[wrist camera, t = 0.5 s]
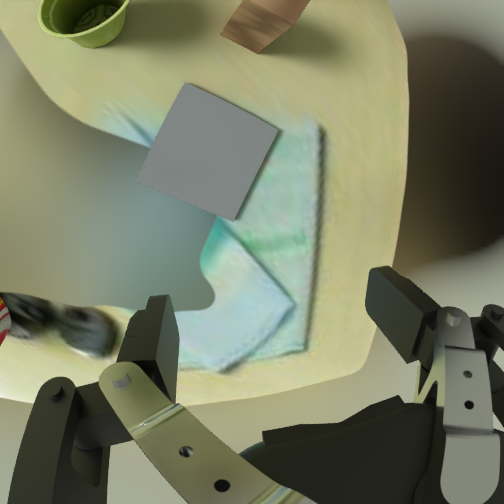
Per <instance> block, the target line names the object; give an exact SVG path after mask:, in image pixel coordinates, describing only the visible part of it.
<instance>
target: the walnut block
mask: <svg viewBox="0 0 504 504" xmlns="http://www.w3.org/2000/svg"><path fill="white" fill-rule="evenodd" d="M309 1H310V0H243V1H242V2H241V4H240V5H239V7H238V8H237V10H236V11H235V12H234V14H233V15H232V17H231V18H230V20H229V21H228V23H227V25H226V26H225V28H224V29H223V31H222V32H221V34H220V35H221V36H223V37H226V38H228V39H230V40H232V41H234V42H236V43H238V44H240V45H241V46H243V47H245V48H247V49H249V50H251V51H253V52H255V53H256V54H258V53H259V52H260V51H261V50H262V49H264V48H265V47H266V46H267V45H269V44H270V43H271V42H272V41H274V40H275V39H276V38H278V37H279V36H280V35H282V34H283V33H284V32H286V31H287V30H288V29H290V28H291V27H292V26H294V24H295V23H296V21H297V20H298V18H299V17H300V15H301V13H302V12H303V10H304V9H305V7H306V6H307V4H308V3H309Z"/></svg>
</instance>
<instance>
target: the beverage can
mask: <svg viewBox="0 0 504 504" xmlns="http://www.w3.org/2000/svg"><path fill="white" fill-rule="evenodd" d="M10 327H11V318H10V313H9V311H8V309H7V306H6V304H5V303H4V301H3V300H2V298H1V297H0V346H1V344H2V342H3V340H4V339H5V337H6V335H7V333H8V332H9V330H10Z"/></svg>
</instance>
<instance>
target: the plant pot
mask: <svg viewBox="0 0 504 504" xmlns="http://www.w3.org/2000/svg"><path fill="white" fill-rule="evenodd" d="M130 1H131V0H42V1H41V3H40V6H39V11H38V18H39V23H40V25H41V27H42V28H43V30H44V31H45V32H47V33H48V34H50V35H52V36H54V37H59V38H69V39H71V40H73V41H74V42H76V43H78V44H79V45H81V46H83V47H86V48H94V47H99V46H103V45H106V44H108V43H109V42H111V41H112V40H114V39H115V38H116V37H117V36H118V35H119V33H120V32H121V30H122V29H123V26H124V22H125V14H126V7H127V5H128V4H129V2H130ZM110 9H113V10H115V11H116V13H115V14H114V13H113V12H111V11H109V10H110ZM89 14H91V16H89V17H88V18H87V19H86V20H84V18H85V17H86V16H87V15H89ZM83 20H84V22H83ZM97 23H100V25H98V26H96V25H97Z"/></svg>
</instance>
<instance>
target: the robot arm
mask: <svg viewBox="0 0 504 504" xmlns="http://www.w3.org/2000/svg"><path fill="white" fill-rule="evenodd" d="M365 307H366V311H367V313H368V315H369V316H370V317H371V319H372V320H373V321H374V322H375V324H376V325H377V326H378V327H379V328H380V330H381V331H382V332H383V334H384V335H385V336H386V337H387V338H388V340H389V341H390V342H391V344H392V345H393V346H394V347H395V349H396V350H397V351H398V353H399V354H400V355H401V357H402V358H403V359H404V361H405V362H406V363H407V364H408V363H411V362H414V361H416V360H419V361H420V363H419V366H418V369H417V378H416V387H415V395H414V401H413V403H404V402H403V401H402V399H401V397H400V396H399V395H397V396H394V397H392V398H389V399H387V400H383V401H381V402H378V403H375V404H372V405H369V406H368V407H366V408H365V409H363V410H361V411H360V412H358V413H356V414H355V415H353V416H351V417H349V418H347V419H346V420H344V421H342V422H339V423H328V424H299V425H294V426H289V427H284V428H278V429H273V430H267V431H262V436H263V441H262V442H260V443H257V444H255V445H253V446H251V447H249V448H247V449H245V450H244V451H242V452H241V453H239V454H237V453H236V452H235V451H233V450H232V449H231V448H230V447H228V446H227V445H226V444H225V443H224V442H222V441H221V440H220V439H219V438H218V437H216V436H215V435H214V434H213V433H212V432H211V431H210V430H208V429H207V428H206V427H205V426H204V425H203V424H202V423H201V422H200V421H199V420H198V419H197V418H195V417H194V416H193V415H192V414H191V413H190V412H189V411H188V410H187V409H186V408H185V407H184V406H182V405H181V404H179V403H177V404H176V405H175V402H176V384H177V368H178V355H179V331H178V326H177V322H176V318H175V314H174V310H173V306H172V302H171V298H170V296H169V295H158V296H150V297H149V300H148V303H147V306H146V309H145V310H138V311H137V312H136V313H135V314H134V315H133V316H132V317H131V318H130V321H129V324H128V327H127V330H126V333H125V337H124V339H123V342H122V345H121V348H120V351H119V355H118V358H117V361H116V363H115V364H112V365H110V366H109V367H107V368H106V369H105V370H104V371H103V372H102V373H101V375H100V377H99V381H98V382H95V383H92V384H88V385H84V386H80V387H76V386H75V385H74V383H73V382H72V380H70V379H69V378H66V377H55V378H52V379H50V380H48V381H47V382H45V383H44V384H43V385H42V386H41V388H40V390H39V392H38V394H37V397H36V400H35V402H34V405H33V408H32V411H31V414H30V416H29V419H28V422H27V426H26V429H25V432H24V435H23V438H22V442H21V445H20V449H19V453H18V456H17V460H16V464H15V468H14V472H13V477H12V482H11V486H10V491H9V497H8V503H7V504H107V485H108V483H107V482H108V468H109V457H110V446H111V445H115V444H119V443H124V442H127V441H131V440H134V441H135V442H136V443H137V445H138V446H139V447H140V449H141V450H142V451H143V452H144V454H145V455H146V456H147V458H148V459H149V460H150V461H151V463H152V464H153V465H154V466H155V467H156V469H157V470H158V471H159V472H160V473H161V474H162V476H163V477H164V478H165V479H166V480H167V481H168V483H169V484H170V485H171V486H172V487H173V488H174V489H175V490H176V491H177V492H178V494H179V495H180V496H181V497H182V498H183V499H184V500H185V501H186V502H187V503H188V504H504V432H503V431H500V430H497V429H494V428H493V414H492V411H493V412H494V414H495V415H496V417H497V418H498V420H499V421H500V423H501V424H502V426H503V427H504V372H503V371H502V370H501V368H500V367H499V366H498V365H497V364H496V363H495V362H494V361H493V358H494V356H495V354H496V351H497V349H498V348H499V347H500V348H501V349H502V350H503V351H504V308H502V307H500V306H498V305H493V304H489V305H486V306H484V308H483V310H482V313H481V316H480V317H471V318H469V316H468V315H467V313H465V312H464V311H463V310H461V309H459V308H456V307H451V306H450V307H449V306H447V307H440V305H438V304H437V303H436V302H435V301H434V300H433V299H432V298H431V297H429V296H428V295H427V294H426V293H423V291H422V290H421V289H420V288H419V287H417V285H415V284H414V283H413V282H412V281H411V280H409V279H407V278H405V277H403V276H401V275H399V274H398V273H397V272H396V271H394V270H393V269H392V268H391V267H390V266H382V267H376V268H372V269H371V270H370V272H369V277H368V285H367V292H366V299H365Z"/></svg>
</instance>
